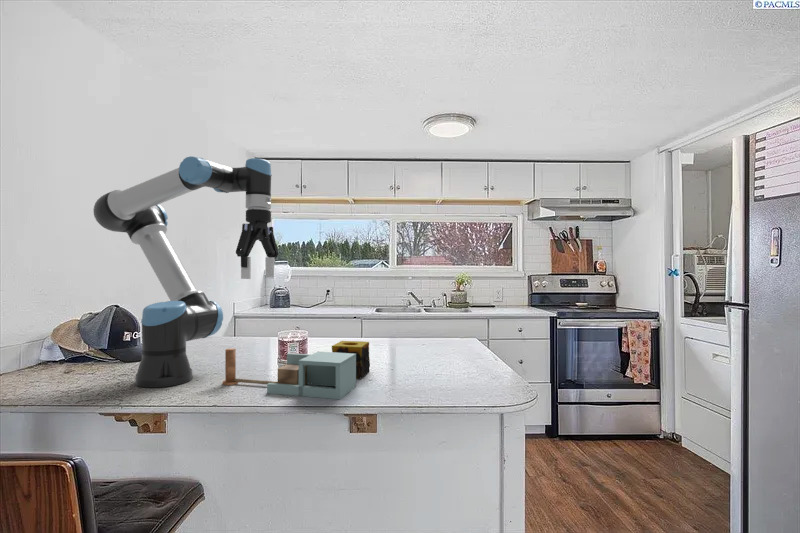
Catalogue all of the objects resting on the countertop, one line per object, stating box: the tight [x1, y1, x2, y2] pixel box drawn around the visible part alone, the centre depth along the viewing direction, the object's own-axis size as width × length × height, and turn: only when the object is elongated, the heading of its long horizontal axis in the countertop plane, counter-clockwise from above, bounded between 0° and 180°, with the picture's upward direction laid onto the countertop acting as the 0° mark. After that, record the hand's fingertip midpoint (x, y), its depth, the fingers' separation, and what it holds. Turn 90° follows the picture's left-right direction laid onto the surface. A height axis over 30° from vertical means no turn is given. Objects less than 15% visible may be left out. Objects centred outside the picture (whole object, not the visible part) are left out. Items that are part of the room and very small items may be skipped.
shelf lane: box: [266, 351, 357, 400], centre depth 126 cm, size 21×12×10 cm, turn 76°
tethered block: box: [222, 347, 308, 386], centre depth 130 cm, size 25×6×10 cm, turn 76°
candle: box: [331, 340, 371, 380], centre depth 143 cm, size 10×10×10 cm
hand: (258, 278), depth 140 cm, fingers open, 13 cm apart
